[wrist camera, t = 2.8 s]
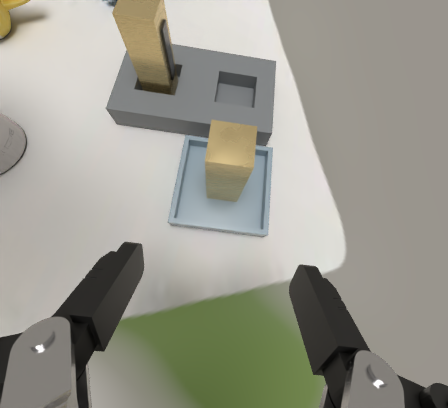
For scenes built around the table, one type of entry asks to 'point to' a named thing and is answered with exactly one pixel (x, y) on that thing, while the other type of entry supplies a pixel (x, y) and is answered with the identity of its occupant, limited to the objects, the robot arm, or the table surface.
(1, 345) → the robot arm
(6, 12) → the mug
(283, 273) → the table surface
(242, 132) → the brass billet
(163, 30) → the seated billet
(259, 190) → the light blue tray
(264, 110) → the grey slotted fixture block
